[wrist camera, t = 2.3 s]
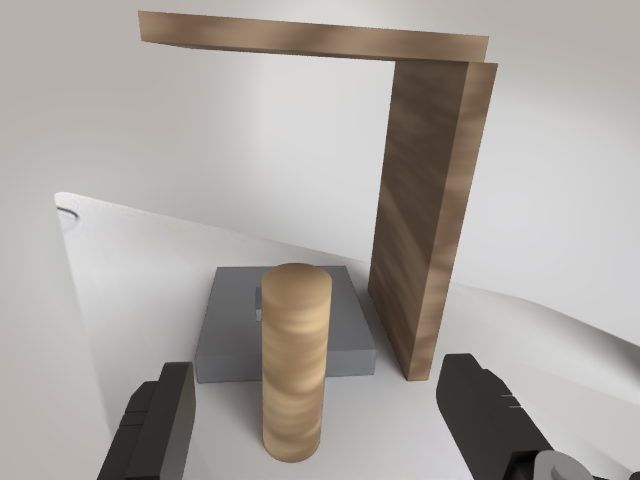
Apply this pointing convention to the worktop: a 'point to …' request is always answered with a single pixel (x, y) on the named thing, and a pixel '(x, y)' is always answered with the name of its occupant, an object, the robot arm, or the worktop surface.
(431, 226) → the wooden l bracket
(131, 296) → the worktop surface
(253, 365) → the socket plate
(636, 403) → the worktop surface
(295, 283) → the wooden peg
